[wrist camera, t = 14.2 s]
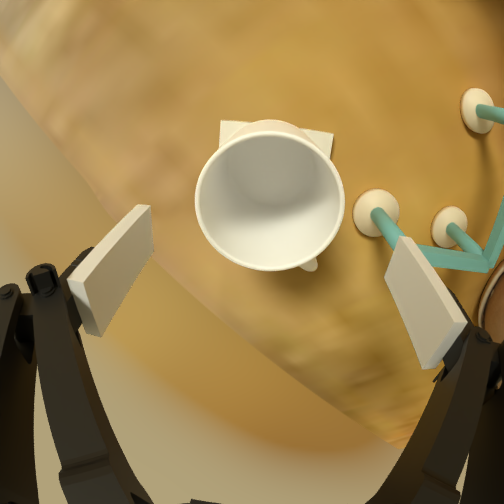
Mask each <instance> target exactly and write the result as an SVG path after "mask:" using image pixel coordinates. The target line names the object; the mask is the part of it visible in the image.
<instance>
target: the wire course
mask: <svg viewBox="0 0 504 504" xmlns="http://www.w3.org/2000/svg"><path fill="white" fill-rule="evenodd" d="M460 112H461V116H462V119H463V121H464V123H465V124H466V126H467V127H468V128H469V129H470V130H472V131H474V132H477V133H481V134H483V133H487V132H488V131H490V129H491V128H492V127H493V124H494V122H497V123H500V124H504V109H503V108H499V107H494V104H493V101H492V99H491V98H490V96H489V95H488V94H487V93H486V92H485V91H484V90H482V89H477V88H470V89H468V90H466V91H465V92H464V93H463V95H462V97H461V101H460ZM352 215H353V220H354V223H355V224H356V226H357V228H358V229H359V230H360V231H361V232H362V233H363V234H365V235H367V236H371V237H378V236H382V235H383V236H384V238H385V239H386V241H387V242H388V244H389V245H390V246H391V248H392V249H393V251H394V249H395V246H396V244H397V241H398V238H399V236H404V237H406V236H405V235H404V233H403V232H402V231H401V230H400V229H399V227H398V226H397V225H396V223H397V221H398V218H399V205H398V202H397V200H396V199H395V198H394V197H393V196H392V195H391V194H390V193H389V192H388V191H386V190H384V189H379V188H375V189H370V190H367V191H365V192H364V193H362V194H361V195H360V196H359V197H358V198H357V200H356V201H355V204H354V206H353V211H352ZM466 229H467V218H466V215H465V213H464V212H463V211H462V210H460V209H459V208H458V207H456V206H446V207H444V208H442V209H441V210H440V211H439V212H438V213H437V214H436V216H435V217H434V219H433V221H432V225H431V235H432V238H433V240H434V241H435V242H436V243H437V244H438V245H439V246H440V247H442V248H438V247H432V246H426V245H419V244H416V245H417V246H418V248H419V249H420V251H421V252H422V253H423V255H424V256H425V257H426V259H427V260H428V262H429V263H430V264H431V266H433V267H441V268H449V269H457V270H465V271H473V272H480V273H488V270H489V268H494V266H495V263H496V261H497V259H498V257H499V254H500V252H501V250H502V247H503V245H504V196H503V200H502V203H501V206H500V209H499V212H498V215H497V218H496V221H495V224H494V226H493V229H492V232H491V234H490V237H489V240H488V242H487V245H486V247H485V249H484V250H483V249H482V248H481V247H480V246H479V245H478V244H477V243H476V242H475V241H474V240H473V239H472V238H470V237H469V236H468V235H467V234H466V233H465V232H466ZM456 244H457V245H458V246H459V247H460V248H461V249H462V250H463V251H464V252H462V251H456V250H450V249H444V248H450V247H453V246H455V245H456Z"/></svg>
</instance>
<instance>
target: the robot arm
mask: <svg viewBox="0 0 504 504" xmlns="http://www.w3.org/2000/svg"><path fill="white" fill-rule="evenodd" d="M153 252H154V245H153V233H152V220H151V205H138V204H137V205H136V206H135V207H134V208H133V209H132V210H131V211H130V212H129V213H128V214H127V215H126V216H125V217H124V218H123V219H122V220H121V221H120V222H119V223H118V224H117V225H116V226H115V227H114V228H113V229H112V230H111V231H110V232H109V233H108V234H107V235H106V236H105V238H103V239H102V240H101V242H100V243H99V244H98V245H97V246H96V247H90V248H88V249H87V250H85V251H83V252H82V253H81V254H80V255H79V256H78V257H77V258H76V260H74V261H73V262H72V263H71V265H70V266H69V267H68V268H67V269H66V270H65V271H64V272H63V273H62V275H61V276H60V277H59V278H58V275H57V271H56V268H55V266H54V265H52V264H47V263H45V264H40V265H37V266H35V267H34V268H32V269H31V270H30V271H29V272H28V273H27V275H26V281H27V284H28V286H29V289H30V291H31V293H24V294H22V293H21V291H20V289H19V287H18V285H16V284H6V285H4V286H2V287H1V288H0V504H39V499H38V488H37V480H36V470H35V458H34V430H33V429H34V395H35V381H36V371H37V365H38V371H39V377H40V384H41V389H42V395H43V400H44V404H45V409H46V413H47V417H48V422H49V425H50V429H51V432H52V436H53V439H54V443H55V447H56V450H57V453H58V456H59V459H60V462H61V466H62V470H61V471H60V472H59V481H60V484H61V487H62V490H63V492H64V495H65V497H66V500H67V502H68V504H154V503H153V502H152V500H151V498H150V497H149V496H148V494H147V492H146V491H145V489H144V488H143V487H142V485H141V484H140V483H139V481H138V480H137V478H136V476H135V475H134V473H133V471H132V469H131V467H130V466H129V463H128V462H127V459H126V457H125V455H124V453H123V451H122V449H121V447H120V445H119V443H118V441H117V438H116V436H115V434H114V432H113V430H112V427H111V425H110V423H109V420H108V418H107V415H106V413H105V411H104V408H103V405H102V403H101V400H100V397H99V394H98V392H97V389H96V386H95V383H94V380H93V377H92V374H91V372H90V368H89V365H88V362H87V358H86V355H85V351H84V348H83V344H82V340H81V337H80V334H79V331H78V329H79V327H80V326H81V324H83V327H84V329H85V331H86V333H87V334H91V335H94V336H98V337H102V335H103V333H104V332H105V330H106V328H107V326H108V325H109V323H110V321H111V320H112V317H113V316H114V314H115V313H116V311H117V309H118V308H119V306H120V304H121V303H122V301H123V299H124V298H125V296H126V294H127V293H128V291H129V289H130V288H131V286H132V285H133V283H134V281H135V280H136V278H137V276H138V275H139V273H140V272H141V270H142V269H143V267H144V266H145V264H146V263H147V261H148V260H149V258H150V257H151V255H152V254H153ZM384 279H385V281H386V283H387V285H388V288H389V290H390V292H391V294H392V296H393V299H394V301H395V303H396V305H397V308H398V310H399V312H400V315H401V317H402V319H403V322H404V324H405V326H406V329H407V331H408V334H409V336H410V339H411V341H412V344H413V346H414V349H415V352H416V354H417V357H418V360H419V362H420V365H421V368H422V369H434V368H436V367H437V366H438V364H439V363H440V362H441V360H442V359H443V361H444V364H445V366H444V367H443V369H442V370H441V371H440V372H439V374H438V375H437V376H436V377H435V379H434V380H433V381H432V382H435V381H436V380H437V382H436V385H435V387H434V390H433V392H432V394H431V397H430V399H429V401H428V403H427V406H426V408H425V410H424V412H423V414H422V416H421V418H420V421H419V423H418V425H417V427H416V429H415V430H414V432H413V434H412V436H411V438H410V440H409V442H408V444H407V445H406V447H405V449H404V451H403V453H402V454H401V456H400V458H399V459H398V461H397V463H396V464H395V466H394V468H393V469H392V471H391V472H390V474H389V475H388V477H387V479H386V480H385V482H384V483H383V484H382V486H381V487H380V489H379V490H378V492H377V493H376V494H375V495H374V496H373V497H372V498H371V499H370V500H369V501H367V502H366V503H365V504H458V503H459V500H460V504H504V340H503V341H502V343H501V344H500V343H496V342H493V340H492V338H491V336H490V334H489V333H488V332H487V331H486V330H484V329H483V328H481V327H476V326H475V327H474V325H473V324H472V322H471V320H470V318H469V317H468V315H467V314H466V312H465V310H464V309H463V308H462V305H461V304H460V302H459V301H458V299H457V297H456V296H455V294H454V293H453V292H452V291H451V290H450V289H449V288H447V287H446V286H445V285H444V283H443V282H442V280H441V279H440V277H439V276H438V274H437V273H436V272H435V270H434V269H433V267H432V266H431V264H430V263H429V262H428V260H427V259H426V257H425V256H424V255H423V253H422V252H421V251H420V249H419V248H418V246H417V245H416V244H415V242H414V241H413V240H412V239H411V238H410V237H404V236H399V238H398V241H397V244H396V246H395V249H394V252H393V255H392V257H391V260H390V263H389V266H388V268H387V271H386V273H385V276H384ZM501 380H502V383H501V386H500V388H499V389H498V383H499V382H500V381H501ZM468 453H469V457H468V465H467V471H466V476H465V481H464V486H463V491H462V495H460V492H459V491H458V490H456V484H457V482H458V479H459V477H460V474H461V472H462V469H463V467H464V464H465V462H466V459H467V456H468ZM460 497H461V499H460ZM183 504H219V503H212V502H206V501H199V500H193V499H191V501H190V503H183Z"/></svg>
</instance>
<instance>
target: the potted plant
mask: <svg viewBox="0 0 504 504" xmlns="http://www.w3.org/2000/svg"><path fill="white" fill-rule="evenodd" d="M478 324H479V327H481V328H483V329H484V330H486V331H487V332H488V333H489V334H490V336H491V338H492V340H493V342H496V343H500V344H501V343H502V341H503V340H504V260H503V261H502V262H501V263H500V264H499V265H498V267H497V268H496V269H495V271H494V272H493V274H492V276H491V277H490V279H489V281H488V283H487V285H486V287H485V289H484V292H483V294H482V297H481V300H480V303H479V310H478ZM501 383H502V380H501V381H500V382H499V383H498V388H500V386H501Z"/></svg>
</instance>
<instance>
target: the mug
mask: <svg viewBox="0 0 504 504" xmlns="http://www.w3.org/2000/svg"><path fill="white" fill-rule="evenodd" d="M344 208H345V195H344V189H343V184H342V181H341V178H340V175H339V173H338V171H337V170H336V168H335V166H334V164H333V163H332V162H331V160H330V159H329V158H328V157H327V156H326V154H325V153H324V152H323V151H322V150H321V149H320V148H319V147H318V146H317V145H316V144H315V143H314V142H313V141H312V140H311V139H310V138H309V137H308V136H307V135H306V134H305V133H304V132H303V131H302V130H300V129H299V128H298V127H296V126H294V125H292V124H290V123H287V122H284V121H280V120H261V121H256V122H253V123H250V124H248V125H246V126H244V127H243V128H241V129H240V130H238V131H237V132H236V133H235V134H234V135H233V136H232V137H231V138H230V139H228V140H227V141H226V142H225V143H224V144H223V145H222V146H221V147H220V148H219V149H218V150H217V151H216V152H215V153H214V154H213V156H212V157H211V158H210V159H209V160H208V162H207V163H206V165H205V166H204V168H203V170H202V172H201V174H200V176H199V179H198V182H197V186H196V192H195V209H196V215H197V219H198V222H199V225H200V227H201V229H202V231H203V233H204V235H205V237H206V238H207V240H208V241H209V242H210V243H211V245H212V246H213V247H214V248H215V249H216V250H217V251H218V252H219V253H221V254H222V255H223V256H224V257H226V258H227V259H229V260H231V261H232V262H234V263H236V264H238V265H241V266H244V267H247V268H250V269H254V270H260V271H281V270H287V269H291V268H295V267H297V266H299V267H301V268H302V269H304V270H306V271H315V270H316V269H317V267H318V264H317V260H316V256H318V255H319V254H320V253H321V252H322V251H324V250H325V248H326V247H327V246H328V245H329V244H330V243H331V241H332V240H333V239H334V237H335V235H336V234H337V232H338V230H339V228H340V225H341V222H342V219H343V215H344Z"/></svg>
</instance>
